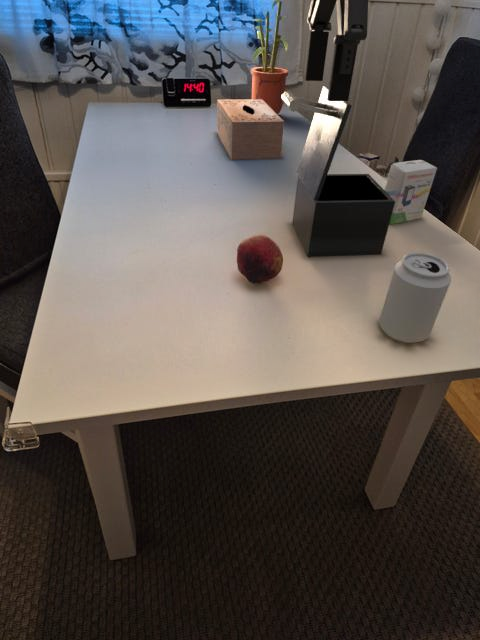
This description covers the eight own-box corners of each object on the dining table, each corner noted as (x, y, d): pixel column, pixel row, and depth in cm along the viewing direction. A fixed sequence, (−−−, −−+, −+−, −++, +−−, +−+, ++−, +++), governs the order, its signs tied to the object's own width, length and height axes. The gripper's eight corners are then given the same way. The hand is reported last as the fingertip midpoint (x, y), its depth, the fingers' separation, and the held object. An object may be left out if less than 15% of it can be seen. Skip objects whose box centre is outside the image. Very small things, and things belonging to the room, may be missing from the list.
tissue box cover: (280, 158, 128) (284, 121, 121) (231, 159, 125) (232, 122, 119) (260, 132, 147) (262, 99, 141) (217, 133, 145) (217, 99, 139)
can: (432, 350, 64) (461, 280, 57) (379, 342, 65) (400, 273, 58) (424, 318, 70) (449, 251, 63) (376, 312, 71) (395, 245, 63)
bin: (357, 223, 96) (368, 173, 89) (381, 254, 86) (395, 201, 79) (292, 224, 94) (298, 174, 88) (307, 257, 84) (315, 202, 77)
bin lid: (327, 86, 78) (281, 75, 76) (352, 105, 68) (299, 92, 66) (300, 172, 88) (258, 164, 85) (318, 200, 77) (271, 192, 75)
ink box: (406, 210, 102) (421, 158, 95) (422, 219, 99) (438, 166, 91) (376, 215, 99) (389, 162, 92) (391, 225, 96) (406, 171, 89)
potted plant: (291, 116, 165) (303, 0, 143) (264, 123, 156) (272, 1, 134) (256, 107, 174) (262, -3, 153) (228, 113, 165) (230, -3, 144)
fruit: (283, 272, 79) (288, 231, 74) (276, 296, 73) (281, 253, 68) (241, 265, 80) (242, 225, 76) (230, 288, 75) (232, 246, 70)
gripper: (298, -101, 61) (283, 73, 74) (354, -133, 42) (320, 110, 55) (351, -98, 62) (327, 74, 75) (430, -128, 42) (379, 111, 56)
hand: (324, 90), depth 65 cm, fingers open, 13 cm apart
